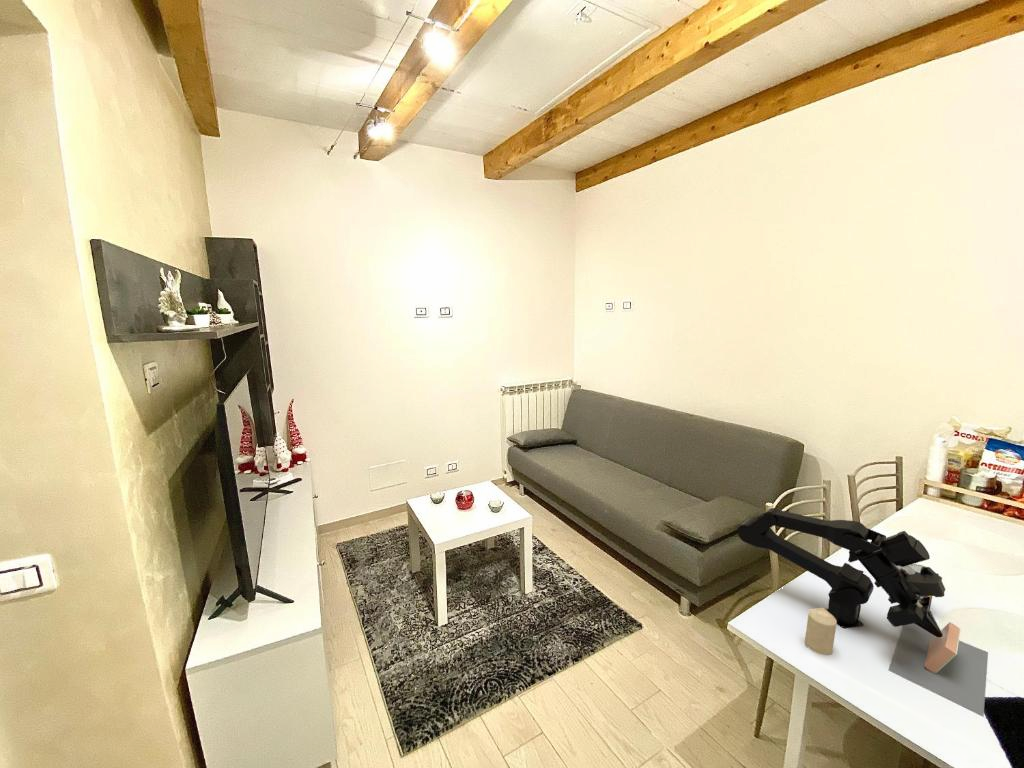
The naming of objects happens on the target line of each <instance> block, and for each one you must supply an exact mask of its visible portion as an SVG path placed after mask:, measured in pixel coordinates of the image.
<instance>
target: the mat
mask: <svg viewBox="0 0 1024 768" xmlns="http://www.w3.org/2000/svg"><path fill="white" fill-rule="evenodd" d="M934 637H935V636H934V635H933V634H931V633H929V632H928V631H926V630H924V629H923V628H921V627H919V626H918V625H916V624H914V623H913V624H908V625H903V626H901V630H900V633H899V637H898V640H897V642H896V647H895V649H894V652H893V655H892V658H891V662H890V664H889V667H888V672H891V673H893V674H895V675H897V676H899V677H901V678H903V679H905V680H907V681H909V682H911V683H913V684H915V685H917V686H919V687H922V688H923V689H926V690H928V691H929V692H932V693H934V694H936V695H938V696H940V697H942V698H944V699H945V700H948V701H950V702H952V703H955V704H956V705H958V706H961V707H962V708H964V709H965V710H968V711H971V712H973V713H975V714H976V715H978V716H981V717H982V718H984V715H985V704H986V703H985V701H986V688H987V687H986V686H987V673H988V672H987V670H988V658H989V657H988V656H989V652H988V651H986V650H984V649H981V648H979V647H976V646H973V645H971V644H969V643H966V642H964V641H961V640H959V643H958V650H957V655H956V656H955V657H954V658H952V659H951V660H950V661H949V662H948V663H947V664H946V665H945V666H944V667H943V668H941V669H940V670H939V671H938V672H937V673H933V672H931V671H930V670H928V669H927V668H926V667H924V665H925V660H926V656H927V652H928V648H929V644H930V641H931V640H932V639H933V638H934Z"/></svg>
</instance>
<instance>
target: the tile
mask: <svg viewBox="0 0 1024 768" xmlns="http://www.w3.org/2000/svg"><path fill="white" fill-rule="evenodd" d="M940 630H941V632H942V634H943V636H942V637H936V636H935V637H934V638H933V639H932V640H931V641H930V644H929V648H928V652H927V656H926V660H925V665H924V667H926V668H927V669H928V670H930V671H931V672H933V673H937V672H938V671H939V670H940V669H941V668H943V667H944V666H945V665H946V664H947V663H948V662H949V661H950V660H951V659H952V658H954V657H955V656H956V655H957V650H958V643H959V641H960V636H961V628H960V627H958V626H957V625H956V624H954V623H953V622H952V621H949V622H948V623H947V624H946V625H945V626H944V627H943V628H942V629H940Z"/></svg>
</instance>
